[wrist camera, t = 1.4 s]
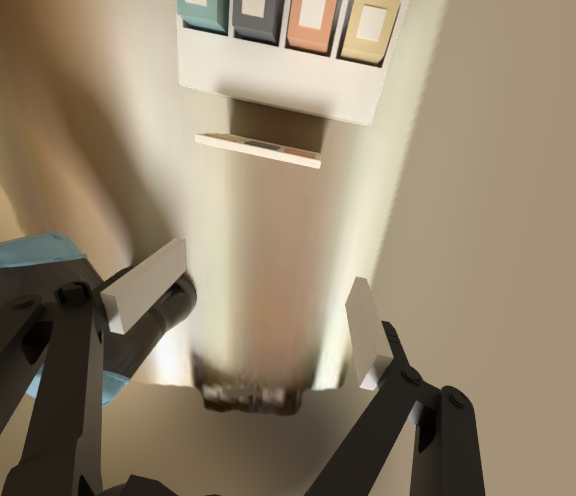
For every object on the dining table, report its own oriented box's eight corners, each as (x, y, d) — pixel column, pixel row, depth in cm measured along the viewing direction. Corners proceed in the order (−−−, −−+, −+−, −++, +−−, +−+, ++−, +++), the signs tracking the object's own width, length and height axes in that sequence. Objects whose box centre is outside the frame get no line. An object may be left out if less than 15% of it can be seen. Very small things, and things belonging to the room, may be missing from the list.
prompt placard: (229, 139, 34) (195, 142, 25) (230, 132, 34) (194, 132, 24) (318, 158, 34) (319, 168, 24) (320, 151, 34) (321, 159, 24)
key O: (243, 39, 26) (231, 24, 23) (246, -11, 24) (234, -37, 21) (278, 46, 26) (271, 32, 23) (284, -3, 24) (278, -28, 21)
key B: (291, 49, 26) (287, 35, 23) (298, 0, 24) (295, -25, 21) (326, 56, 26) (327, 43, 23) (336, 7, 24) (339, -16, 21)
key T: (339, 59, 26) (343, 47, 22) (350, 10, 24) (356, -12, 21) (374, 66, 26) (384, 55, 22) (388, 18, 24) (402, -3, 20)
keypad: (198, 91, 32) (178, 84, 28) (197, -83, 24) (171, -131, 20) (363, 126, 32) (370, 124, 27) (413, -41, 24) (435, -80, 20)
